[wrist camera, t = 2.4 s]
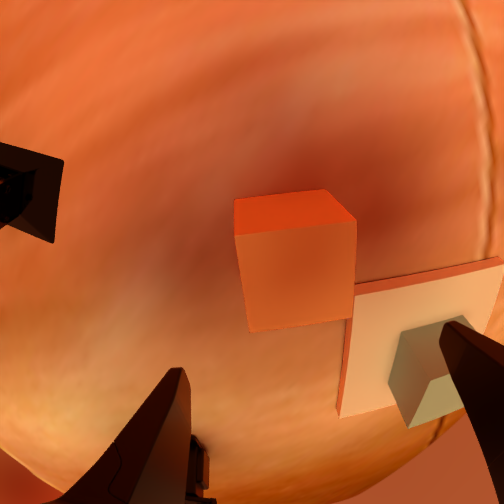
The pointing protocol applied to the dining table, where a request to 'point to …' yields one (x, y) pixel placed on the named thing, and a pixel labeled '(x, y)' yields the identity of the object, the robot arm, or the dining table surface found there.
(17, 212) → the dark piece
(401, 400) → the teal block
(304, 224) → the orange block
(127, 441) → the robot arm
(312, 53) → the dining table surface
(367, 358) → the base plate
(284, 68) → the dining table surface
